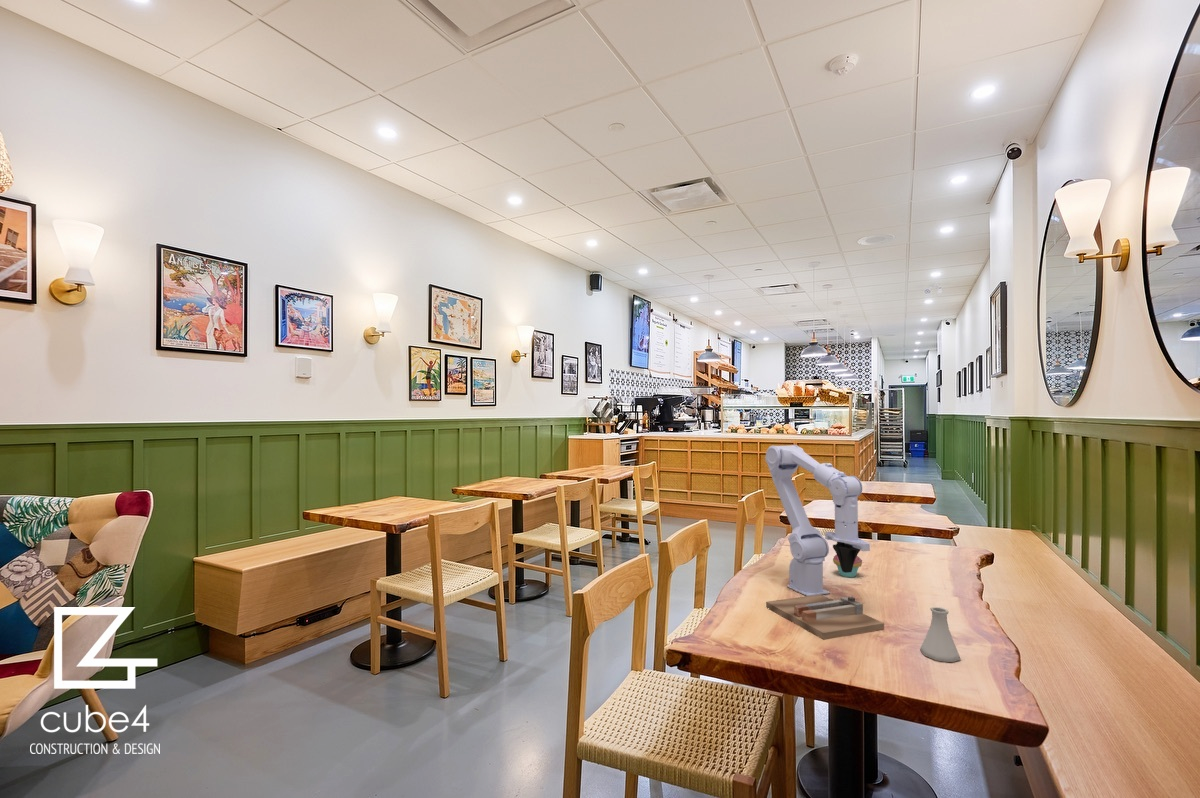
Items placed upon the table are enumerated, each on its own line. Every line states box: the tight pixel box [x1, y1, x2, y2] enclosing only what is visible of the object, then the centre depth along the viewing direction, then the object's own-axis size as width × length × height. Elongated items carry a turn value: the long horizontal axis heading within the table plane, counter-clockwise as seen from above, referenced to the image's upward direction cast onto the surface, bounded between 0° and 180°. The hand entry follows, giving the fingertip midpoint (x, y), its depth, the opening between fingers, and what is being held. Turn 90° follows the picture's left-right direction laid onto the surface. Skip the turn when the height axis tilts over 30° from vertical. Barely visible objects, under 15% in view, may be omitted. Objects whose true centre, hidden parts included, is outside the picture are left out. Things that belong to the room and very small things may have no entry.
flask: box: [919, 606, 962, 663], centre depth 120 cm, size 7×7×10 cm
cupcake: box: [832, 554, 863, 578], centre depth 178 cm, size 9×8×12 cm
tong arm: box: [794, 599, 843, 616], centre depth 141 cm, size 14×2×2 cm, turn 109°
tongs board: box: [765, 594, 885, 640], centre depth 142 cm, size 22×18×5 cm
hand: (846, 571), depth 150 cm, fingers closed
